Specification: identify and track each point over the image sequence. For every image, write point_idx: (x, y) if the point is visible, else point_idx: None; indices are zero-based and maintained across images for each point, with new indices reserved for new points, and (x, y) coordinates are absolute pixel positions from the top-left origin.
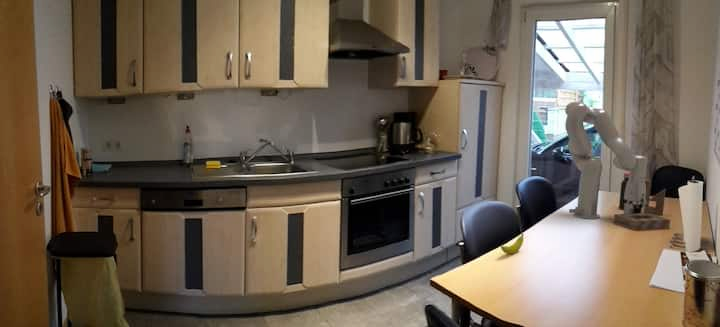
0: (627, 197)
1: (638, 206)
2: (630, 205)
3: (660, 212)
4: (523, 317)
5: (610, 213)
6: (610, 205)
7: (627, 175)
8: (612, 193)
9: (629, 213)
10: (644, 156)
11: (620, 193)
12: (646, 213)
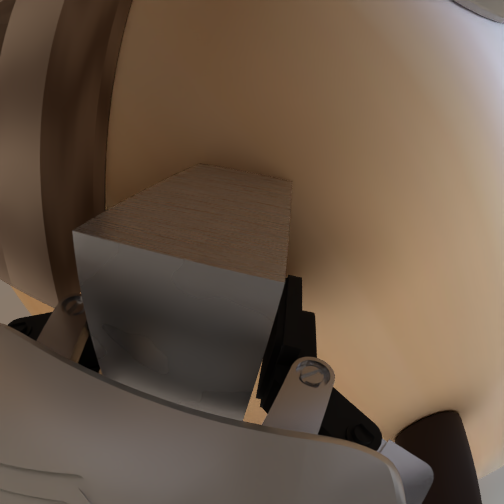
0: (250, 496)
1: (55, 312)
2: (88, 232)
3: None
4: None
5: (471, 247)
6: (498, 410)
7: None
8: (489, 472)
9: (167, 180)
10: None
11: (478, 488)
12: (40, 276)
